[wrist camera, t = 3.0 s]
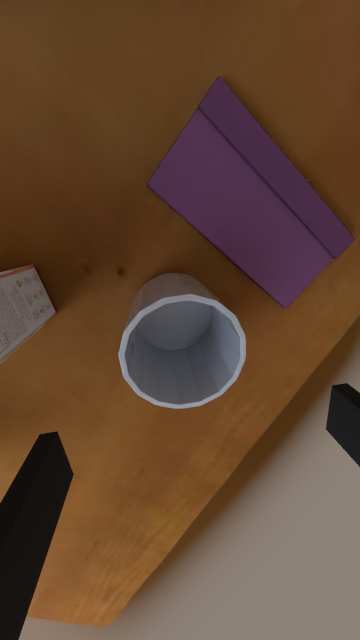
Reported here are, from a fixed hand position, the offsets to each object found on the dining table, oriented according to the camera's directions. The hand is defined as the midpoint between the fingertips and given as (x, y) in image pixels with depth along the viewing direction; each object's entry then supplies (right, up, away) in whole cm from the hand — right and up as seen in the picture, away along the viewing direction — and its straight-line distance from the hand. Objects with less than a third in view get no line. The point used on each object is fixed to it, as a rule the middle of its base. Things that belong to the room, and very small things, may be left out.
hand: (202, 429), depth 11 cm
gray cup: (-2, +6, +16) cm, 17 cm away
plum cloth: (+7, +16, +13) cm, 22 cm away
